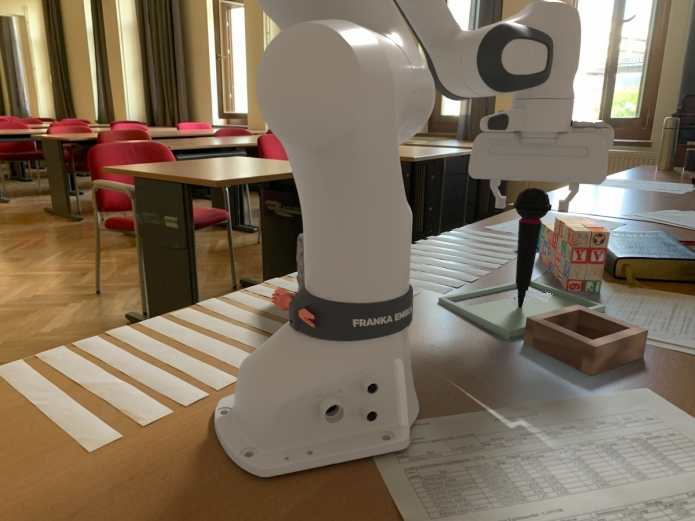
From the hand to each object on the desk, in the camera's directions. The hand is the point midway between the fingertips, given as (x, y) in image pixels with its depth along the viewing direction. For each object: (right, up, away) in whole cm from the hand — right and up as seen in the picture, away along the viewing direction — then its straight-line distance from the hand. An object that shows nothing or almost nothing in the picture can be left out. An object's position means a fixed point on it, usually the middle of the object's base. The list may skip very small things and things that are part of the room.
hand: (530, 209), depth 82 cm
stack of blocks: (+15, -12, +23) cm, 30 cm away
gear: (+17, -8, +39) cm, 43 cm away
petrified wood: (-29, -15, +9) cm, 34 cm away
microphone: (0, -16, +5) cm, 17 cm away
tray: (0, -17, +5) cm, 17 cm away
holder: (+4, -21, -10) cm, 23 cm away
